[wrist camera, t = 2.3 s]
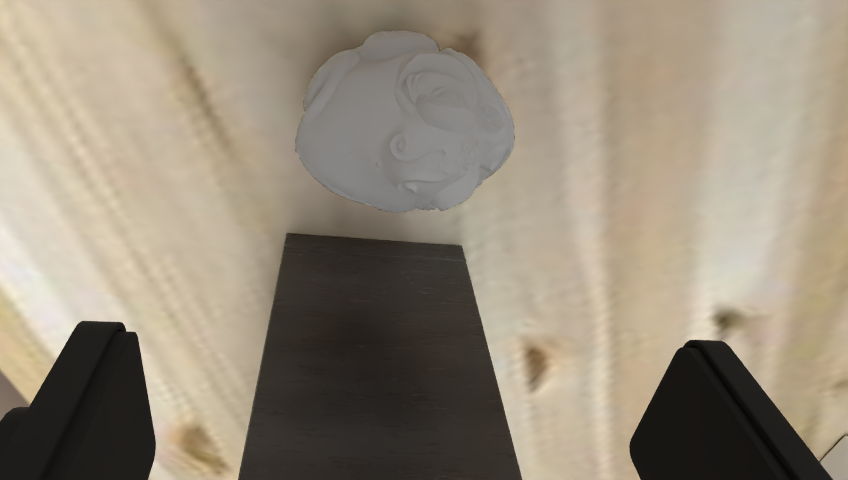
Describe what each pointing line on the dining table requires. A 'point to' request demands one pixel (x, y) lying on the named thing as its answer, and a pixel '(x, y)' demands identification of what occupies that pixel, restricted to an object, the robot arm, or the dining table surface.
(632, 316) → the dining table surface
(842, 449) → the milk
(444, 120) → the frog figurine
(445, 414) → the book rack
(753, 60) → the dining table surface
